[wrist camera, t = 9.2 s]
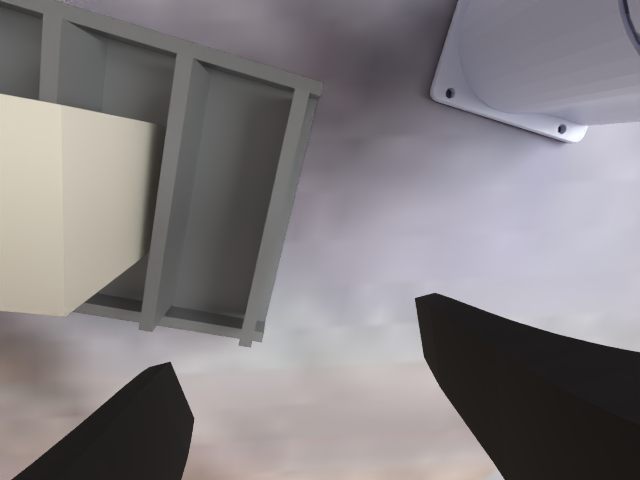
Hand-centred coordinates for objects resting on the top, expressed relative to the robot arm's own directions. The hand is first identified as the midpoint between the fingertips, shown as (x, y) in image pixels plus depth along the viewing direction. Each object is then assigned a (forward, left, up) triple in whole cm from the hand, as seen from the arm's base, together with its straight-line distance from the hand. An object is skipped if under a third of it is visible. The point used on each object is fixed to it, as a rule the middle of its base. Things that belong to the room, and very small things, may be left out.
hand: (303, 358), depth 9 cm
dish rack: (+9, -2, -10) cm, 13 cm away
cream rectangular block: (+9, -2, -9) cm, 13 cm away
